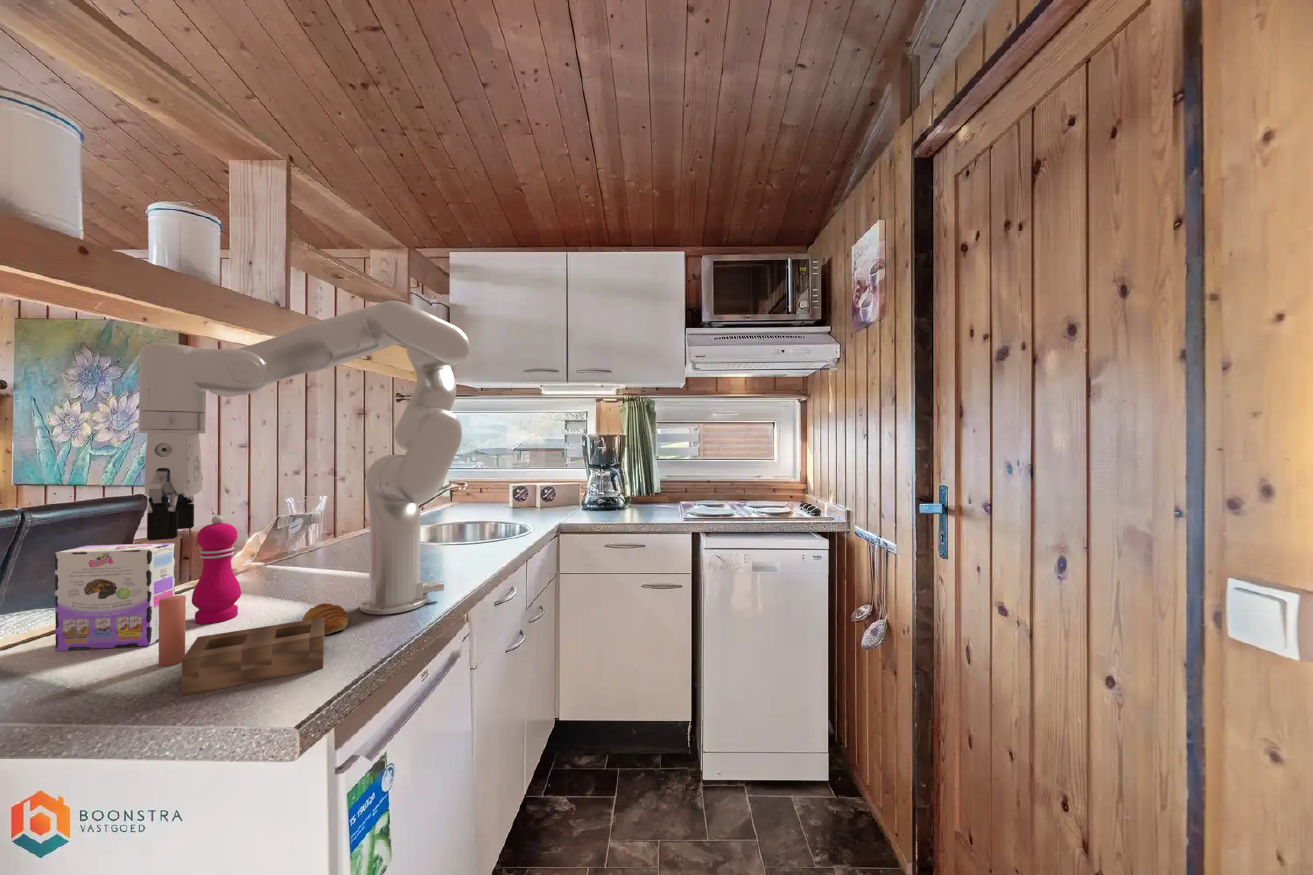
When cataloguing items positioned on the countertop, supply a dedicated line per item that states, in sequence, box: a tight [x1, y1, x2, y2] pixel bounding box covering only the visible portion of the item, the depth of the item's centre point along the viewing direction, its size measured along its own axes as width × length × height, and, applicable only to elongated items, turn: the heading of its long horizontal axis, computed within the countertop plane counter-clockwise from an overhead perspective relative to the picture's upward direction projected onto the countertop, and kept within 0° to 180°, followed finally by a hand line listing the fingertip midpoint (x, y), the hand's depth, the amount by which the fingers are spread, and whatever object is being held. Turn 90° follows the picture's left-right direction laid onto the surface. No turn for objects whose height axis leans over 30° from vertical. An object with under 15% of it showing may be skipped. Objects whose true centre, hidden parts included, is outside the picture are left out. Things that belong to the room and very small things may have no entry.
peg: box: [157, 594, 187, 668], centre depth 78 cm, size 3×3×10 cm
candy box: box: [54, 542, 176, 652], centre depth 86 cm, size 14×6×16 cm, turn 99°
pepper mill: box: [191, 514, 242, 625], centre depth 97 cm, size 7×7×20 cm
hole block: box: [181, 617, 326, 697], centre depth 76 cm, size 16×9×5 cm, turn 122°
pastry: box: [301, 603, 349, 636], centre depth 93 cm, size 9×7×4 cm
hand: (171, 533), depth 78 cm, fingers open, 9 cm apart
